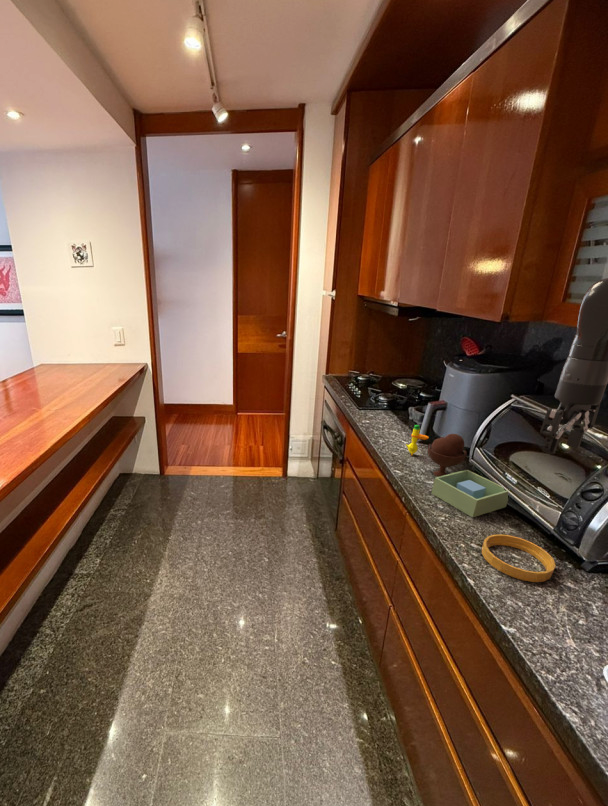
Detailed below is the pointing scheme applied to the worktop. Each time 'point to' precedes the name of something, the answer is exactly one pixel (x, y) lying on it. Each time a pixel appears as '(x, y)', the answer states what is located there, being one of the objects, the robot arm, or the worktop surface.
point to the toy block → (471, 488)
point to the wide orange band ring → (524, 546)
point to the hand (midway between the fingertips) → (560, 449)
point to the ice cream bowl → (447, 452)
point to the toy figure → (415, 439)
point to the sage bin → (471, 506)
